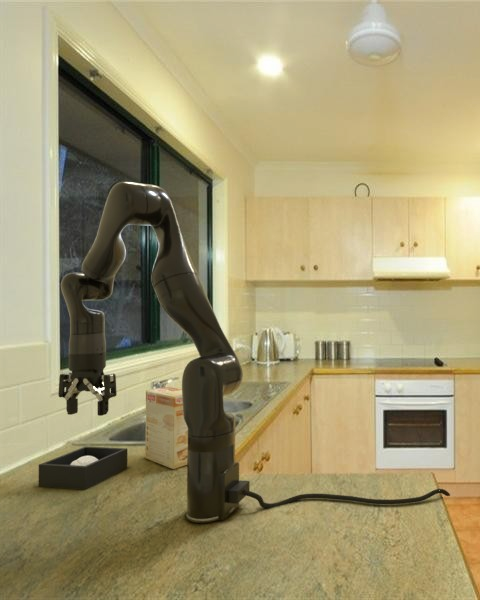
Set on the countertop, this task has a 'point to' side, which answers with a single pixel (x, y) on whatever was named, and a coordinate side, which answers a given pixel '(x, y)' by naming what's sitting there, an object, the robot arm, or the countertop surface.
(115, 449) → the basin
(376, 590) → the countertop surface
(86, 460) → the dumpling
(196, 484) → the robot arm
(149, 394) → the coffeecake box
